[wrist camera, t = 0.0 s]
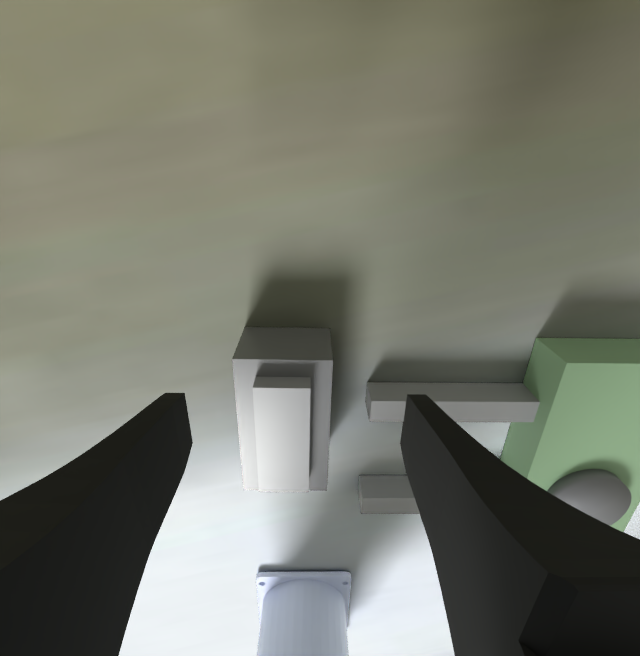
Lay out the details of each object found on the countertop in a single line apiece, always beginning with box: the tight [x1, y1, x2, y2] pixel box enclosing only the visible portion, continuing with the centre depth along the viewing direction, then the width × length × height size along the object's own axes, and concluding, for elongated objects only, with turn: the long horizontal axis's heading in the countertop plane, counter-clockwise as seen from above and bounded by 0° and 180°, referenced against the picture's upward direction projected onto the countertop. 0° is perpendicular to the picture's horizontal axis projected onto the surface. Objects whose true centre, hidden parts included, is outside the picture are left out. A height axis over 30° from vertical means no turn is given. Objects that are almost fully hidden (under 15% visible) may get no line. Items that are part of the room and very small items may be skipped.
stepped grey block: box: [232, 327, 333, 492], centre depth 22 cm, size 5×9×5 cm, turn 178°
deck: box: [358, 338, 640, 532], centre depth 24 cm, size 16×18×4 cm
